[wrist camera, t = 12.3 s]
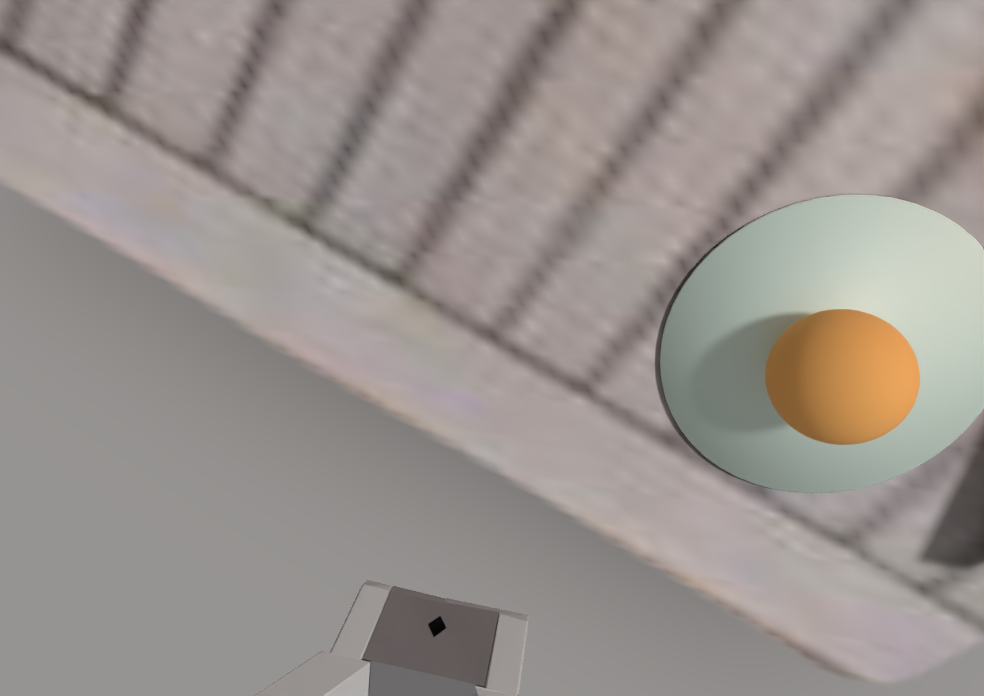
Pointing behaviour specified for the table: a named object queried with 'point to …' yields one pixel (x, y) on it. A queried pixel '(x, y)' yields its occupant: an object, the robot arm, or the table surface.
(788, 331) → the ball
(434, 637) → the robot arm
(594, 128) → the table surface
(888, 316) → the disc
